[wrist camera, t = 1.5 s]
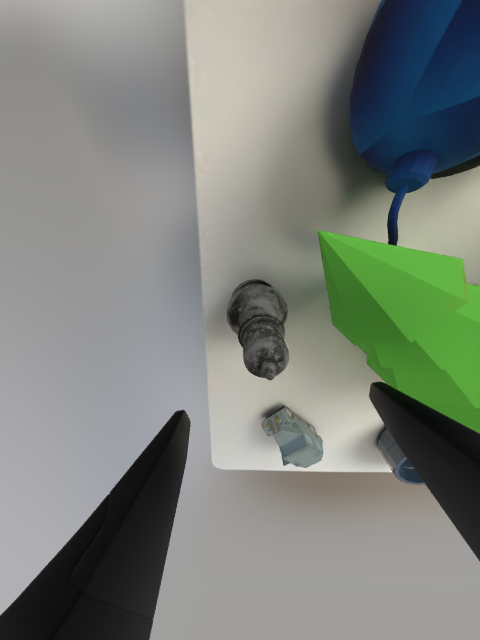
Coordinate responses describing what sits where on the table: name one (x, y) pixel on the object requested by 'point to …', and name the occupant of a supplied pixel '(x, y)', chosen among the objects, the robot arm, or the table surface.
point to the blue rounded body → (418, 94)
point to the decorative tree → (409, 320)
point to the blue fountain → (397, 460)
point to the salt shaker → (260, 327)
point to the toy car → (294, 438)
